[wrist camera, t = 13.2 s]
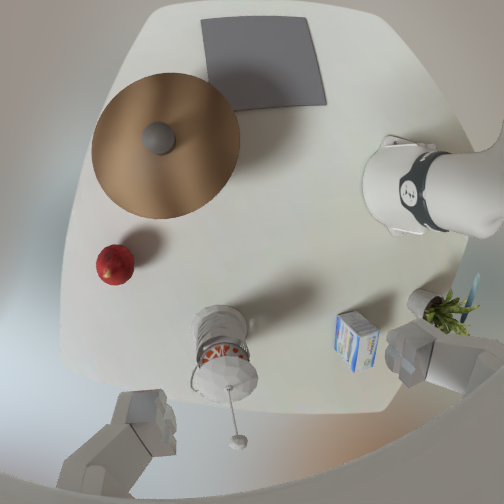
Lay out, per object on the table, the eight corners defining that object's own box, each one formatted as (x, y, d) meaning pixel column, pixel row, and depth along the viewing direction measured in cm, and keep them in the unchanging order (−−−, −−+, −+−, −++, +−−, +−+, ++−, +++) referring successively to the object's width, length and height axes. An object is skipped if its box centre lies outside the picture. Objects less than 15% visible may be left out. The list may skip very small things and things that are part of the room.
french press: (259, 326, 48) (307, 436, 24) (215, 369, 48) (233, 484, 24) (215, 293, 45) (234, 402, 21) (172, 340, 45) (160, 458, 22)
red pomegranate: (105, 238, 40) (86, 250, 32) (139, 241, 41) (126, 254, 33) (105, 274, 41) (88, 292, 33) (138, 277, 42) (127, 297, 34)
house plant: (378, 333, 53) (425, 374, 38) (396, 270, 50) (453, 300, 35) (422, 328, 56) (467, 361, 40) (439, 273, 53) (491, 297, 38)
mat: (303, 18, 36) (304, 17, 35) (324, 105, 41) (325, 104, 40) (200, 21, 33) (200, 19, 33) (214, 113, 38) (214, 113, 38)
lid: (227, 66, 28) (231, 47, 23) (249, 202, 32) (258, 205, 27) (89, 97, 26) (73, 84, 21) (108, 231, 30) (93, 240, 25)
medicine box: (336, 314, 50) (358, 336, 42) (356, 310, 51) (380, 330, 42) (333, 349, 52) (353, 373, 44) (353, 344, 53) (374, 367, 44)
